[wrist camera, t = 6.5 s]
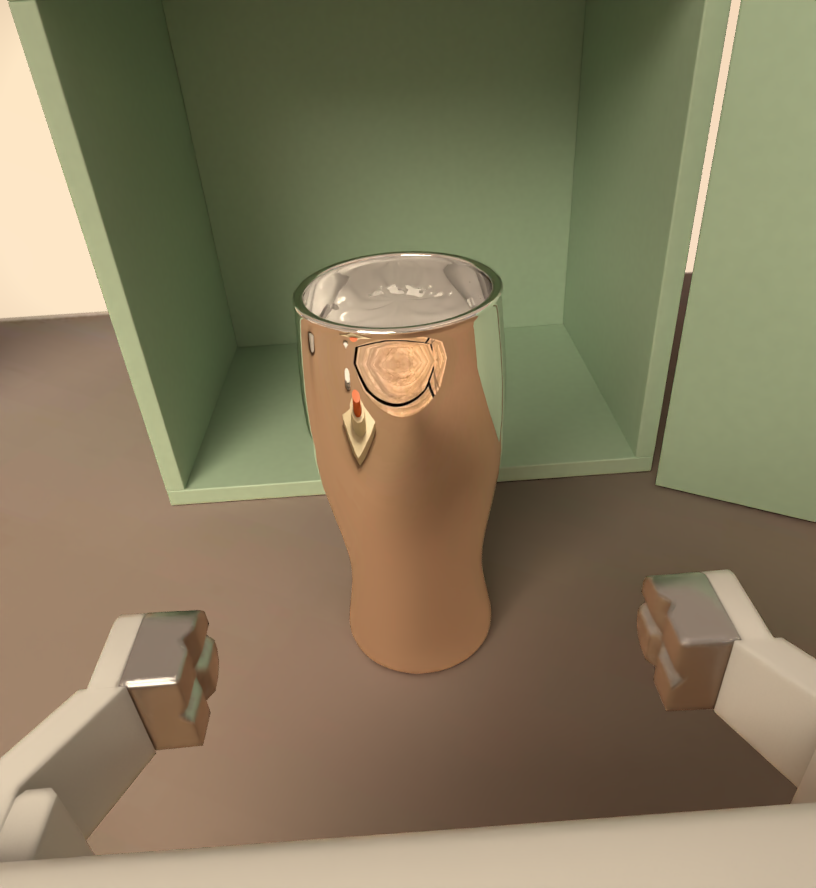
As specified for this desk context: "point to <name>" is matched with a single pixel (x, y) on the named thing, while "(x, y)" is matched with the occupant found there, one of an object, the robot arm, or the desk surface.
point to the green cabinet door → (754, 283)
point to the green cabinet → (381, 201)
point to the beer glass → (408, 441)
